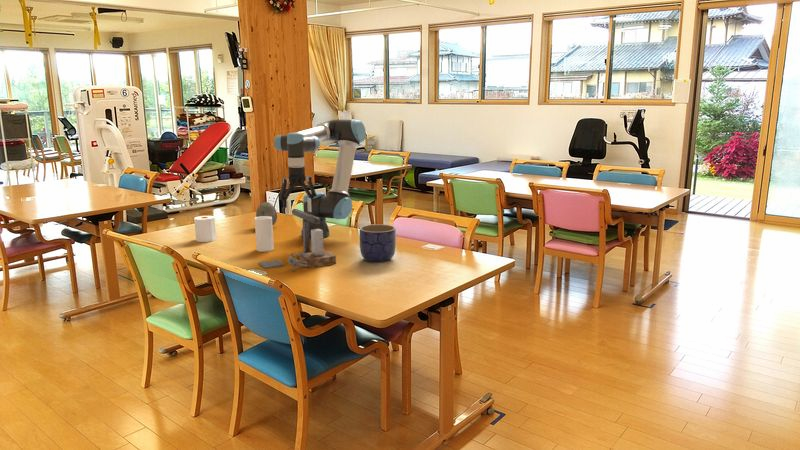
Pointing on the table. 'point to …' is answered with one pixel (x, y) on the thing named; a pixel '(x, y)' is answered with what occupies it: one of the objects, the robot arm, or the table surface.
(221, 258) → the table surface
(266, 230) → the cup
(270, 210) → the decorative egg
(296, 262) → the elephant figurine
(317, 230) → the peg
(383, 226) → the planter
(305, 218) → the dark grey bar
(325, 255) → the eye block
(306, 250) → the handle post
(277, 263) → the mat
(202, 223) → the toilet paper
